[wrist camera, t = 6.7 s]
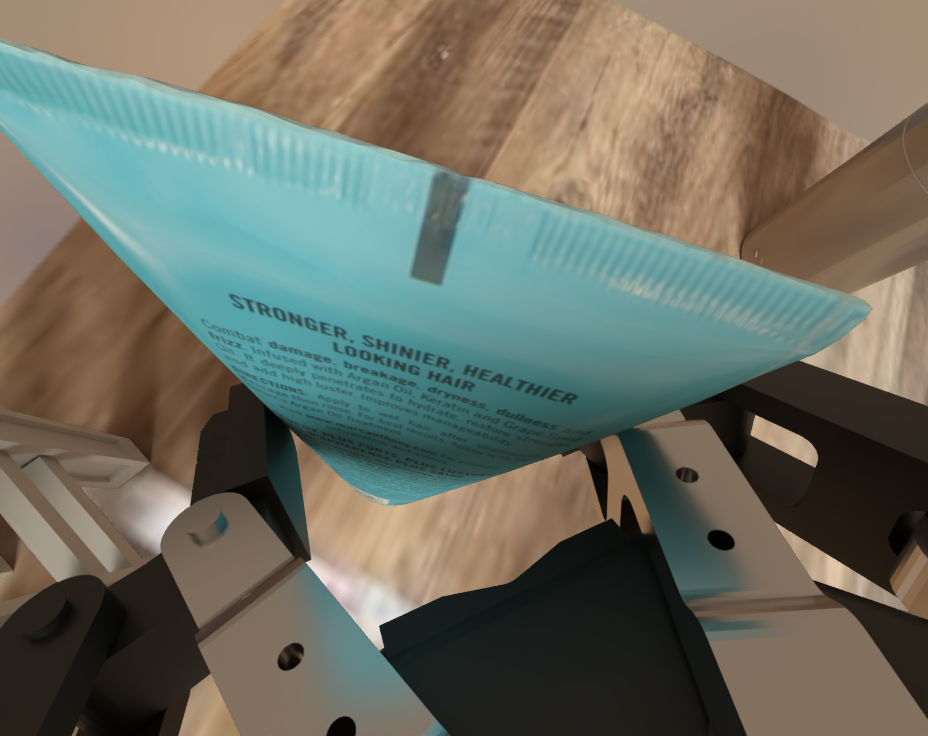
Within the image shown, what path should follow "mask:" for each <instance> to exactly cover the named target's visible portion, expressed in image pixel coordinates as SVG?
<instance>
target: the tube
mask: <svg viewBox="0 0 928 736" xmlns="http://www.w3.org/2000/svg"><path fill="white" fill-rule="evenodd" d="M0 130H1V132H2V133H3V134H4V135H5V136H6V137H7V138H8V139H9V140H10V141H11V142H12V143H13V144H14V145H15V146H16V147H17V148H18V149H19V150H20V151H21V152H22V153H23V154H24V156H25V157H27V159H28V160H29V161H30V162H31V163H32V164H33V165H34V166H35V167H36V168H37V169H38V170H39V171H40V172H41V173H42V174H43V175H44V176H45V178H46V179H47V180H48V181H49V182H50V183H51V184H52V185H53V186H54V187H55V188H56V189H57V190H58V192H59V193H60V194H61V195H62V196H63V197H64V198H65V199H66V200H67V201H68V203H69V204H70V205H71V206H72V207H73V208H74V209H75V210H76V211H77V212H78V213H79V214H80V216H81V217H82V218H83V219H84V220H85V221H86V222H87V223H88V224H89V225H90V226H91V227H92V229H93V230H94V231H95V232H96V233H97V234H98V235H99V236H100V237H101V238H102V239H103V241H104V242H105V243H106V244H107V245H108V246H109V247H110V248H111V249H112V250H113V251H114V252H115V254H116V255H117V256H118V257H119V258H120V259H121V260H122V261H123V262H124V263H125V264H126V265H127V266H128V267H129V268H130V269H131V270H132V271H133V272H134V273H135V274H136V275H137V276H138V277H139V278H140V279H141V280H142V281H143V282H144V283H145V284H146V285H147V286H148V287H149V288H150V289H151V290H152V292H153V293H154V294H155V295H156V296H157V297H158V298H159V299H160V300H161V301H162V302H163V303H164V304H165V305H166V306H167V307H168V308H169V309H170V310H171V311H172V312H173V313H174V314H175V315H176V316H177V317H178V318H179V319H180V320H181V321H182V322H183V323H184V324H185V325H186V326H187V327H188V328H189V329H190V330H191V331H192V332H193V333H194V334H195V335H196V336H197V338H198V339H199V340H200V341H201V342H202V343H203V344H204V345H205V346H206V347H207V348H208V349H209V350H210V351H211V352H212V353H213V354H214V355H215V356H216V357H217V358H218V359H219V360H220V361H221V362H222V363H224V364H225V365H226V366H227V367H228V368H229V369H230V370H231V371H232V372H233V373H234V374H235V375H236V376H237V377H238V378H239V379H240V380H241V381H242V382H243V383H244V384H245V385H246V386H247V387H248V388H249V389H250V390H251V391H252V392H253V393H254V394H255V395H256V396H257V397H258V398H259V399H260V400H261V401H262V402H263V403H264V404H265V405H266V406H267V407H268V408H269V409H270V410H271V411H272V412H273V413H274V414H275V415H276V416H277V417H278V418H279V419H280V420H281V421H282V422H283V423H285V424H286V425H287V426H288V427H289V428H290V429H291V430H292V431H293V432H294V433H295V434H296V435H297V436H298V437H299V438H300V439H301V440H302V441H303V442H305V443H306V444H307V445H308V446H309V447H310V448H311V449H312V450H313V451H314V452H315V453H316V454H317V455H318V456H319V457H320V458H321V459H322V460H323V461H324V462H325V463H327V464H328V465H329V466H330V467H331V468H332V469H333V470H334V471H335V472H336V473H337V474H338V475H339V476H340V477H341V478H342V479H343V480H344V481H345V482H346V483H348V484H349V485H350V486H351V487H352V488H353V489H354V490H355V491H356V492H358V493H359V494H360V495H362V496H363V497H365V498H366V499H368V500H370V501H373V502H375V503H379V504H383V505H404V504H408V503H412V502H415V501H418V500H422V499H425V498H428V497H431V496H434V495H438V494H441V493H444V492H447V491H450V490H453V489H456V488H460V487H463V486H466V485H469V484H472V483H475V482H479V481H482V480H485V479H488V478H491V477H494V476H497V475H500V474H503V473H506V472H509V471H512V470H515V469H518V468H520V467H523V466H526V465H529V464H532V463H535V462H538V461H541V460H544V459H546V458H549V457H552V456H555V455H558V454H561V453H564V452H566V451H569V450H572V449H575V448H578V447H581V446H583V445H586V444H589V443H592V442H595V441H598V440H600V439H603V438H606V437H608V436H611V435H614V434H616V433H619V432H621V431H624V430H627V429H629V428H632V427H635V426H637V425H640V424H642V423H645V422H648V421H650V420H653V419H655V418H658V417H661V416H663V415H666V414H668V413H671V412H674V411H676V410H679V409H682V408H684V407H687V406H689V405H692V404H695V403H697V402H700V401H702V400H704V399H707V398H709V397H711V396H714V395H716V394H718V393H721V392H723V391H725V390H728V389H730V388H732V387H735V386H737V385H739V384H742V383H744V382H746V381H749V380H751V379H753V378H756V377H758V376H760V375H763V374H765V373H768V372H770V371H773V370H775V369H778V368H781V367H783V366H786V365H788V364H791V363H793V362H796V361H798V360H801V359H804V358H806V357H809V356H811V355H814V354H816V353H817V352H819V351H821V350H822V349H824V348H826V347H827V346H829V345H831V344H832V343H834V342H836V341H837V340H839V339H841V338H842V337H843V336H844V335H846V334H847V333H848V332H849V331H851V330H852V329H853V328H854V327H856V326H857V325H858V324H859V323H861V322H862V321H863V320H865V319H866V317H867V316H868V314H869V313H870V311H871V310H872V307H871V306H870V305H869V304H868V303H867V302H866V301H865V300H862V299H860V298H857V297H855V296H852V295H850V294H847V293H845V292H842V291H839V290H835V289H832V288H828V287H825V286H821V285H818V284H815V283H811V282H808V281H805V280H801V279H798V278H795V277H792V276H789V275H785V274H782V273H779V272H776V271H773V270H770V269H767V268H764V267H761V266H758V265H755V264H752V263H750V262H747V261H744V260H741V259H738V258H735V257H732V256H729V255H725V254H722V253H719V252H716V251H713V250H710V249H706V248H703V247H700V246H697V245H694V244H692V243H689V242H686V241H683V240H680V239H677V238H674V237H671V236H669V235H666V234H662V233H658V232H654V231H651V230H647V229H643V228H639V227H635V226H631V225H629V224H626V223H623V222H621V221H618V220H616V219H613V218H610V217H608V216H605V215H603V214H600V213H596V212H592V211H588V210H584V209H580V208H576V207H572V206H568V205H565V204H562V203H558V202H555V201H552V200H549V199H545V198H542V197H539V196H535V195H532V194H529V193H526V192H523V191H520V190H517V189H513V188H510V187H507V186H504V185H501V184H498V183H494V182H491V181H487V180H484V179H480V178H475V177H470V176H466V175H464V174H461V173H459V172H457V171H454V170H452V169H450V168H447V167H445V166H442V165H439V164H435V163H432V162H428V161H425V160H422V159H418V158H415V157H412V156H409V155H406V154H403V153H400V152H397V151H393V150H390V149H387V148H384V147H380V146H377V145H374V144H370V143H367V142H364V141H360V140H357V139H354V138H351V137H348V136H346V135H343V134H341V133H338V132H336V131H332V130H327V129H323V128H318V127H313V126H309V125H306V124H303V123H300V122H298V121H295V120H292V119H289V118H286V117H283V116H280V115H277V114H275V113H271V112H268V111H265V110H262V109H259V108H256V107H252V106H249V105H246V104H243V103H238V102H234V101H229V100H225V99H220V98H216V97H212V96H209V95H206V94H202V93H199V92H196V91H193V90H189V89H186V88H182V87H179V86H175V85H172V84H168V83H165V82H161V81H157V80H154V79H150V78H145V77H142V76H137V75H132V74H126V73H121V72H116V71H111V70H106V69H100V68H95V67H92V66H87V65H84V64H80V63H76V62H73V61H71V60H68V59H65V58H63V57H60V56H57V55H55V54H52V53H49V52H45V51H42V50H39V49H35V48H31V47H28V46H25V45H21V44H18V43H15V42H12V41H9V40H5V39H2V38H0Z"/></svg>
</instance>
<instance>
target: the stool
mask: <svg viewBox="0 0 928 736" xmlns="http://www.w3.org/2000/svg"><path fill="white" fill-rule="evenodd" d="M148 464H150V462H149V461H148V460H147V458H146V457H145V456H144V455H143V454H142V453H141V452H140V450H139V449H138V448H137V447H136V446H135V445H134V444H133V442H132V441H131V440H130V439H129V438H125V437H120V436H116V435H112V434H108V433H103V432H99V431H95V430H91V429H86V428H82V427H78V426H74V425H69V424H65V423H61V422H57V421H52V420H48V419H44V418H40V417H36V416H31V415H27V414H23V413H19V412H14V411H10V410H6V409H2V408H0V514H1V515H2V516H3V518H4V519H5V520H6V521H7V522H8V524H9V525H10V526H11V527H12V528H13V530H14V531H15V532H16V533H17V534H18V536H19V537H20V538H21V539H22V540H23V542H24V543H25V544H26V545H27V546H28V547H29V549H30V550H31V551H32V552H33V553H34V555H35V556H36V557H37V558H38V559H39V561H40V562H41V563H42V564H43V565H44V567H45V568H46V569H47V570H48V571H49V573H50V574H51V575H52V576H53V577H54V578H55V580H56V581H57V582H59V581H62V580H64V579H67V578H70V577H73V576H78V575H93V576H96V577H98V578H100V579H101V581H102V582H103V583H104V584H105V585H106V586H107V587H109V586H110V585H112V584H114V583H115V582H117V581H118V580H120V579H122V578H123V577H125V576H127V575H128V574H130V573H131V572H133V571H135V570H136V569H138V568H140V567H141V566H143V565H144V564H146V563H145V562H144V561H143V559H142V558H141V557H140V556H139V555H138V554H137V552H136V551H135V550H134V549H133V548H132V547H131V546H130V544H129V543H128V542H127V541H126V540H125V539H124V537H123V536H122V535H121V534H120V533H119V532H118V530H117V529H116V528H115V527H114V526H113V525H112V523H111V522H110V521H109V520H108V519H107V518H106V516H105V515H104V514H103V513H102V512H101V511H100V510H99V508H98V507H97V506H96V505H95V504H94V503H93V501H92V500H91V499H90V498H89V497H88V496H87V494H86V493H85V492H84V491H83V490H82V489H81V487H93V488H119V487H120V486H122V485H123V484H124V483H125V482H127V481H128V480H129V479H131V478H132V477H133V476H134V475H136V474H137V473H138V472H140V471H141V470H142V469H143V468H145V467H146V466H147V465H148ZM147 563H148V562H147ZM11 572H13V569H12V568H11V567H10V566H9V565H8V563H7V562H6V561H5V560H4V559H3V557H2V556H1V555H0V581H1V580H2V579H4V578H5V577H6V576H8V575H9V574H10V573H11ZM40 592H41V591H40ZM37 593H39V592H37ZM37 593H33V594H29V595H26V596H22V597H18V598H15V599H11V600H7V601H4V602H0V628H1V627H2V625H3V624H4V623H5V622H6V621H7V620H8V618H9V617H10V616H11V615H12V614H13V613H14V612H15V611H16V610H17V609H18V608H19V607H21V606H22V605H23V604H24V603H25V602H27V601H28V600H29V599H31V598H32V597H33V596H35V595H36V594H37Z"/></svg>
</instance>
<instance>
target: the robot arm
mask: <svg viewBox="0 0 928 736" xmlns="http://www.w3.org/2000/svg"><path fill="white" fill-rule="evenodd" d="M741 258H742V260H744V261H747V262H750V263H752V264H755V265H758V266H761V267H764V268H767V269H770V270H773V271H776V272H779V273H782V274H785V275H789V276H792V277H795V278H798V279H801V280H805V281H808V282H811V283H815V284H818V285H821V286H825V287H828V288H832V289H835V290H839V291H842V292H845V293H847V294H851V293H853V292H855V291H858V290H860V289H862V288H865V287H867V286H869V285H872V284H874V283H876V282H878V281H881V280H883V279H885V278H888V277H890V276H892V275H894V274H897V273H899V272H901V271H904V270H906V269H908V268H911V267H913V266H915V265H917V264H920V263H922V262H924V261H927V260H928V102H927V103H926V104H924V105H923V106H922V107H920V108H919V109H918V110H917V111H915V112H914V113H912V114H911V115H910V116H908V117H907V118H906V119H904V120H903V121H901V122H900V123H899V124H897V125H896V126H895V127H893V128H892V129H890V130H889V131H888V132H886V133H885V134H884V135H882V136H881V137H879V138H878V139H877V140H875V141H874V142H872V143H871V144H870V145H868V146H867V147H866V148H864V149H863V150H861V151H860V152H859V153H857V154H856V155H854V156H853V157H852V158H850V159H849V160H848V161H846V162H845V163H843V164H842V165H841V166H839V167H838V168H837V169H835V170H834V171H832V172H831V173H830V174H828V175H827V176H825V177H824V178H823V179H821V180H820V181H819V182H817V183H816V184H814V185H813V186H812V187H810V188H809V189H808V190H806V191H805V192H803V193H802V194H801V195H799V196H798V197H797V198H795V199H794V200H792V201H791V202H789V203H788V204H787V205H785V206H784V207H782V208H781V209H780V210H778V211H777V212H776V213H774V214H773V215H771V216H770V217H769V218H767V219H766V220H765V221H763V222H762V223H760V224H759V225H758V226H756V227H755V228H753V229H752V230H751V231H750V232H749V233H748V235H747V236H746V238H745V240H744V242H743V246H742V250H741ZM755 415H757V416H759V417H761V418H764V419H766V420H768V421H770V422H772V423H774V424H777V425H779V426H781V427H783V428H785V429H787V430H789V431H792V432H794V433H796V434H798V435H800V436H802V437H804V438H805V439H807V440H808V441H809V442H810V443H811V444H812V445H813V446H814V448H815V449H816V451H817V454H818V462H817V465H816V468H815V467H813V466H811V465H809V464H807V463H805V462H803V461H801V460H799V459H797V458H795V457H793V456H791V455H789V454H787V453H785V452H783V451H781V450H779V449H777V448H775V447H773V446H771V445H769V444H767V443H765V442H763V441H761V440H759V439H757V438H755V437H753V436H751V435H750V434H751V430H752V426H753V422H754V418H755ZM578 450H581V452H582V453H583V454H584V455H585V471H586V475H587V479H588V482H589V486H590V489H591V493H592V497H593V500H594V504H595V507H596V511H597V515H598V518H599V522H600V524H598V525H596V526H594V527H591V528H589V529H587V530H585V531H583V532H581V533H578V534H576V535H574V536H572V537H570V538H568V539H566V540H563V541H561V542H560V543H558V544H557V545H556V546H555V547H554V548H552V549H551V550H550V551H549V552H548V553H546V554H545V555H544V556H543V557H542V558H540V559H539V560H538V561H537V562H536V563H534V564H533V565H532V566H531V567H530V568H528V569H527V570H526V571H525V572H524V573H522V574H521V575H520V576H519V577H518V578H516V579H515V580H514V581H512V582H510V583H507V584H503V585H498V586H493V587H488V588H483V589H478V590H473V591H468V592H463V593H458V594H453V595H448V596H443V597H440V598H438V599H436V600H434V601H432V602H430V603H427V604H425V605H423V606H421V607H419V608H417V609H414V610H412V611H410V612H408V613H406V614H404V615H402V616H399V617H397V618H395V619H393V620H391V621H389V622H386V623H384V624H382V625H380V626H379V628H380V632H381V636H382V640H383V644H384V648H383V649H382V650H381V651H379V650H378V649H377V648H376V647H375V645H374V644H373V643H372V642H371V641H370V639H369V638H368V637H367V636H366V634H365V633H364V632H363V631H362V630H361V628H360V627H359V626H358V625H357V624H356V622H355V621H354V620H353V619H352V618H351V616H350V615H349V614H348V613H347V612H346V610H345V609H344V608H343V607H342V606H341V604H340V603H339V602H338V601H337V600H336V598H335V597H334V596H333V595H332V594H331V592H330V591H329V590H328V589H327V588H326V586H325V585H324V584H323V583H322V582H321V580H320V579H319V578H318V577H317V576H316V574H315V573H314V572H313V571H312V569H311V568H310V567H309V566H308V565H307V564H306V562H307V561H310V560H311V554H310V546H309V539H308V532H307V524H306V517H305V510H304V502H303V495H302V488H301V480H300V473H299V465H298V458H297V452H296V447H295V444H294V440H293V437H292V434H291V432H290V429H289V427H288V426H287V425H286V424H285V423H283V422H282V421H281V420H280V419H279V418H278V417H277V416H276V415H275V414H274V413H273V412H272V411H271V410H270V409H269V408H268V407H267V406H266V405H265V404H264V403H263V402H262V401H261V400H260V399H259V398H258V397H257V396H256V395H255V394H254V393H253V392H252V391H251V390H250V389H249V388H248V387H247V386H246V385H245V384H244V383H241V384H238V385H234V386H231V387H230V395H229V410H227V411H224V412H220V413H217V414H214V415H212V417H211V418H210V420H209V421H208V422H207V424H206V425H205V427H204V428H203V430H202V431H201V435H200V442H199V450H198V455H197V462H198V463H197V464H196V469H195V476H194V483H193V490H192V497H191V504H190V507H188V508H187V509H185V510H184V511H183V512H182V513H180V514H179V515H178V516H177V517H176V518H175V519H174V520H173V521H172V523H171V524H170V525H169V526H168V528H167V529H166V531H165V533H164V535H163V537H162V540H161V553H160V554H159V555H158V556H156V557H155V558H154V559H152V560H151V561H149V562H148V563H146V564H144V565H143V566H141V567H140V568H138V569H136V570H135V571H133V572H131V573H130V574H128V575H127V576H125V577H123V578H122V579H120V580H118V581H117V582H115V583H114V584H112V585H110V586H109V587H107V586H106V585H105V584H104V583H103V582H102V581H101V579H100V578H98V577H96V576H93V575H78V576H73V577H70V578H67V579H64V580H62V581H59V582H57V583H55V584H53V585H51V586H49V587H47V588H46V589H44V590H42V591H41V592H39V593H37V594H36V595H35V596H33V597H32V598H31V599H29V600H28V601H27V602H25V603H24V604H23V605H22V606H21V607H19V608H18V609H17V610H16V611H15V612H14V613H13V614H12V615H11V616H10V617H9V618H8V620H7V621H6V622H5V623H4V624H3V625H2V627H1V628H0V736H72V733H73V731H74V729H75V727H76V726H77V727H78V728H79V730H78V732H77V734H76V736H178V735H179V731H180V728H181V724H182V720H183V717H184V713H185V710H186V706H187V702H188V699H189V695H190V690H191V688H192V687H194V686H195V685H196V684H198V683H199V682H200V681H201V680H203V679H204V678H205V677H207V676H208V675H209V674H212V677H213V679H214V681H215V683H216V685H217V687H218V689H219V691H220V693H221V695H222V698H223V700H224V702H225V704H226V706H227V708H228V710H229V712H230V714H231V717H232V719H233V721H234V723H235V725H236V727H237V729H238V731H239V733H240V736H928V406H926V405H923V404H920V403H917V402H914V401H912V400H909V399H906V398H903V397H900V396H898V395H895V394H892V393H889V392H886V391H883V390H881V389H878V388H875V387H872V386H869V385H866V384H864V383H861V382H858V381H855V380H852V379H850V378H847V377H844V376H841V375H838V374H835V373H833V372H830V371H827V370H824V369H821V368H818V367H816V366H813V365H810V364H807V363H804V362H801V361H799V360H798V361H796V362H793V363H791V364H788V365H786V366H783V367H781V368H778V369H775V370H773V371H770V372H768V373H765V374H763V375H760V376H758V377H756V378H753V379H751V380H749V381H746V382H744V383H742V384H739V385H737V386H735V387H732V388H730V389H728V390H725V391H723V392H721V393H718V394H716V395H714V396H711V397H709V398H707V399H704V400H702V401H700V402H697V403H695V404H692V405H689V406H687V407H684V408H682V409H679V410H676V411H674V412H671V413H668V414H666V415H663V416H661V417H658V418H655V419H653V420H650V421H648V422H645V423H642V424H640V425H637V426H635V427H632V428H629V429H627V430H624V431H621V432H619V433H616V434H614V435H611V436H608V437H606V438H603V439H600V440H598V441H595V442H592V443H589V444H586V445H583V446H581V447H578V448H575V449H572V450H569V451H566V452H564V453H561V455H562V456H563V457H564V456H566V455H569V454H571V453H573V452H576V451H578ZM775 522H776V523H777V524H779V525H781V526H782V527H784V528H785V529H787V530H789V531H790V532H792V533H794V534H795V535H797V536H798V537H800V538H802V539H803V540H805V541H807V542H808V543H810V544H811V545H813V546H815V547H816V548H818V549H819V550H821V551H823V552H824V553H826V554H828V555H829V556H831V557H832V558H834V559H836V560H837V561H839V562H841V563H842V564H844V565H845V566H847V567H849V568H850V569H852V570H854V571H855V572H857V573H858V574H860V575H862V576H863V577H865V578H867V579H868V580H870V581H871V582H873V583H875V584H876V585H878V586H880V587H881V588H883V589H884V590H886V591H888V592H889V593H891V594H893V595H894V596H896V597H897V598H899V600H900V601H901V602H902V604H903V605H904V606H905V607H906V608H907V609H908V611H907V612H905V611H902V610H899V609H896V608H893V607H890V606H887V605H884V604H881V603H878V602H875V601H873V600H870V599H867V598H864V597H861V596H858V595H855V594H852V593H849V592H846V591H843V590H841V589H838V588H835V587H832V586H829V585H826V584H823V583H820V582H817V581H814V580H812V579H811V577H810V576H809V574H808V573H807V571H806V570H805V568H804V567H803V565H802V564H801V562H800V560H799V559H798V557H797V556H796V554H795V553H794V551H793V550H792V548H791V547H790V545H789V544H788V542H787V541H786V539H785V538H784V536H783V535H782V533H781V532H780V530H779V529H778V527H777V526H776V524H775Z"/></svg>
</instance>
